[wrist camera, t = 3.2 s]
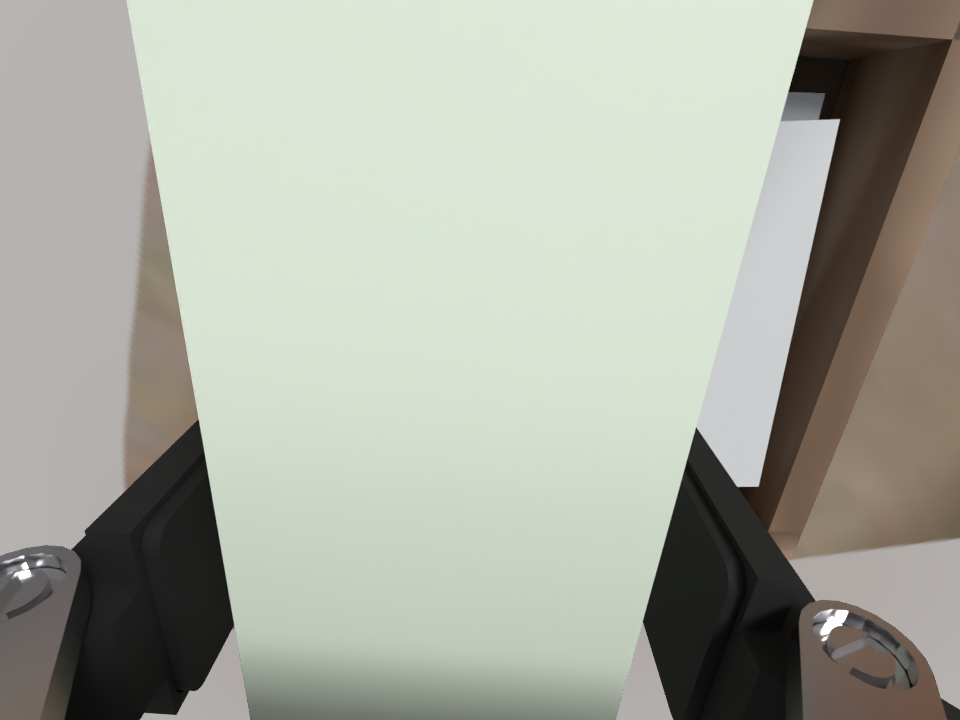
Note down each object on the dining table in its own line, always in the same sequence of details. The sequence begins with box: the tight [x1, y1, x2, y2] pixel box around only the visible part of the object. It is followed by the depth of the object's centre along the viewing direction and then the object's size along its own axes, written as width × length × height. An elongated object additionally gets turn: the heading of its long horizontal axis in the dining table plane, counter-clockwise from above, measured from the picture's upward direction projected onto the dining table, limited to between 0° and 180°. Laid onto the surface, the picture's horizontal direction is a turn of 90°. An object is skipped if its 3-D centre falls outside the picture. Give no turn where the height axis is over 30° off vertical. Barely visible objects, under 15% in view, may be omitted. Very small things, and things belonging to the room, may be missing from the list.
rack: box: [738, 0, 960, 559], centre depth 21 cm, size 20×22×7 cm
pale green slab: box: [127, 0, 813, 720], centre depth 15 cm, size 4×16×20 cm, turn 176°
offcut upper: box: [696, 119, 840, 487], centre depth 20 cm, size 5×14×3 cm, turn 2°
